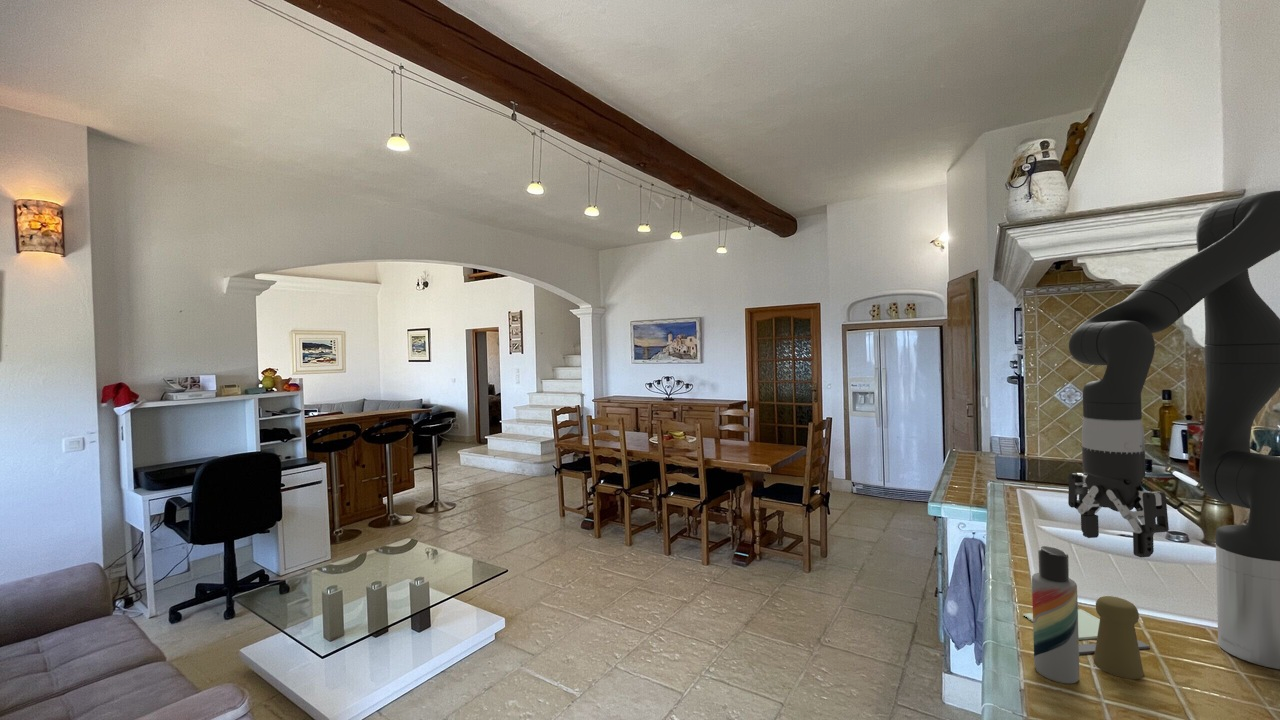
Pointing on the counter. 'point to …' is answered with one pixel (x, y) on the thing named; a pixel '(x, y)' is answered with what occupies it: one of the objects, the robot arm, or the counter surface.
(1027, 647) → the counter surface
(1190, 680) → the counter surface
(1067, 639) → the lotion bottle
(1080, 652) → the charcoal line
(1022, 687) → the counter surface
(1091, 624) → the mat
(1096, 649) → the cork
